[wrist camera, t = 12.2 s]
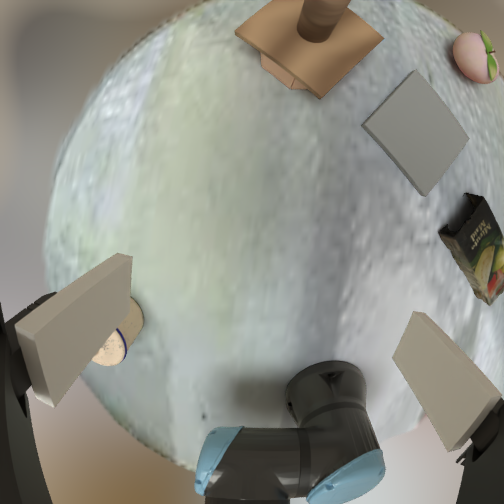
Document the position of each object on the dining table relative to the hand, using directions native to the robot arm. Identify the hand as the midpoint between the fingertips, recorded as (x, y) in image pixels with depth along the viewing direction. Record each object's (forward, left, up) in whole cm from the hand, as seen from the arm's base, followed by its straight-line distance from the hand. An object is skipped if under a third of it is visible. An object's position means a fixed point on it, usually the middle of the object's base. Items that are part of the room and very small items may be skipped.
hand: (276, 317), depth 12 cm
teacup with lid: (+6, +30, -28) cm, 41 cm away
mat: (-9, -25, -28) cm, 39 cm away
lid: (+11, -21, -22) cm, 33 cm away
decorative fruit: (-7, -43, -28) cm, 52 cm away
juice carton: (-32, -21, -29) cm, 48 cm away
